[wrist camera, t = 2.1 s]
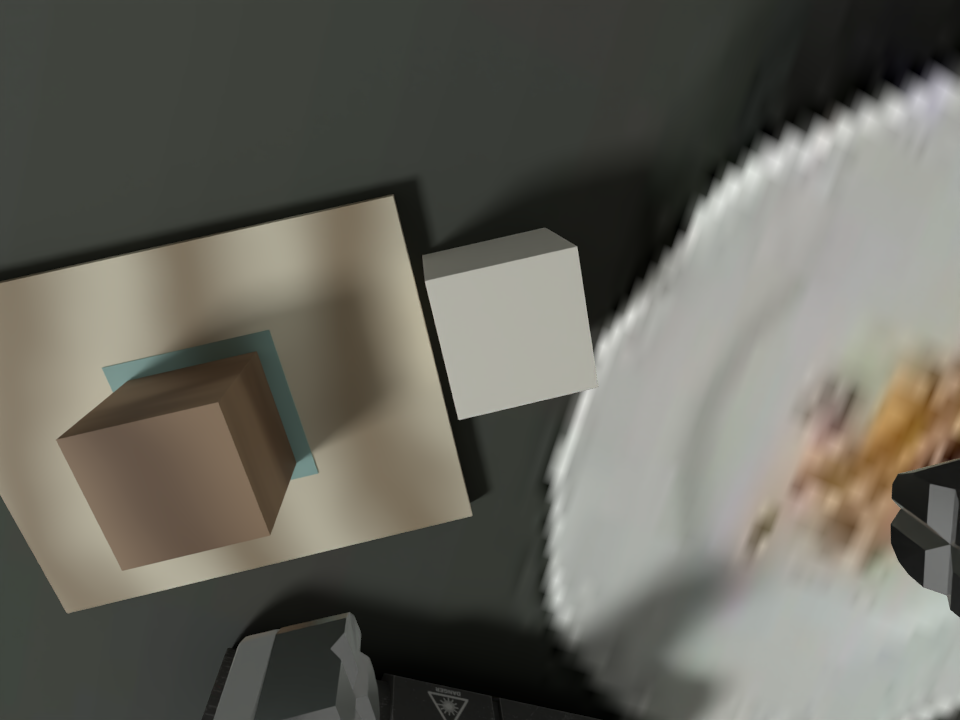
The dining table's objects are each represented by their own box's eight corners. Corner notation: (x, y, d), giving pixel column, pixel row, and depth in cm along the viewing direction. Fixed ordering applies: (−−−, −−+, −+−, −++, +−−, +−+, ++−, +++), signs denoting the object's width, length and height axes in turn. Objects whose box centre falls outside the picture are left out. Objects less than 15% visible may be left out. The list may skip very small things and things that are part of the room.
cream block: (544, 227, 24) (577, 246, 19) (564, 343, 26) (598, 387, 21) (422, 254, 24) (424, 280, 19) (449, 370, 26) (458, 420, 21)
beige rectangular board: (393, 193, 23) (393, 195, 22) (470, 503, 28) (472, 516, 27) (-84, 300, 22) (-107, 307, 21) (78, 597, 27) (66, 614, 26)
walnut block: (256, 351, 23) (217, 402, 19) (296, 463, 25) (270, 535, 20) (127, 380, 23) (55, 439, 18) (176, 491, 25) (122, 570, 20)
